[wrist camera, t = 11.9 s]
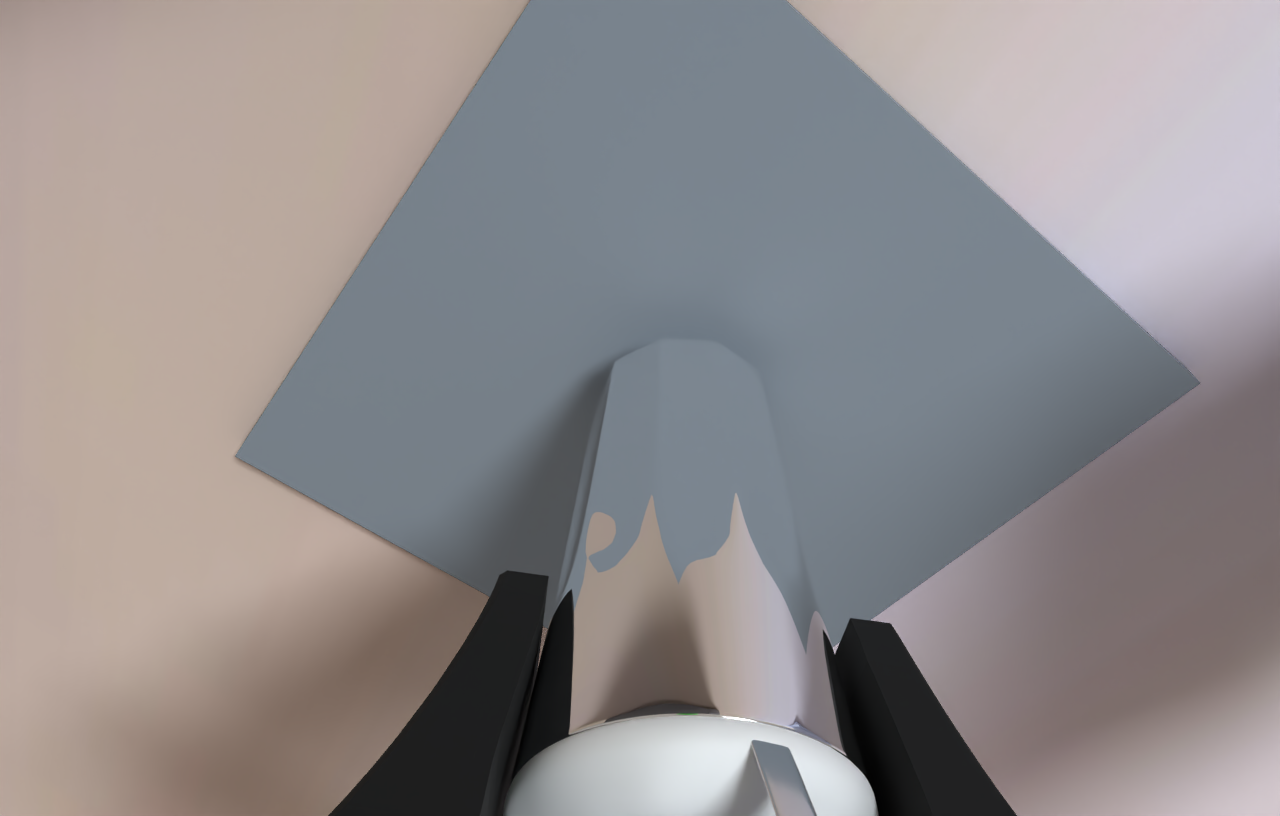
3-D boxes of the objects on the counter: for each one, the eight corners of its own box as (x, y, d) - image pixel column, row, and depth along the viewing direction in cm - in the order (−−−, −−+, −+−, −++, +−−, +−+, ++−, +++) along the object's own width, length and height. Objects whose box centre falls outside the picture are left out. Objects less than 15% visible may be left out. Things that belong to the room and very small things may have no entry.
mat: (1190, 372, 17) (1200, 383, 17) (722, 713, 24) (723, 725, 23) (627, -147, 13) (625, -146, 12) (242, 445, 19) (235, 456, 19)
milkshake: (869, 315, 15) (1062, 957, 8) (739, 507, 19) (786, 1087, 11) (627, 231, 14) (581, 871, 7) (536, 448, 18) (436, 1042, 10)
